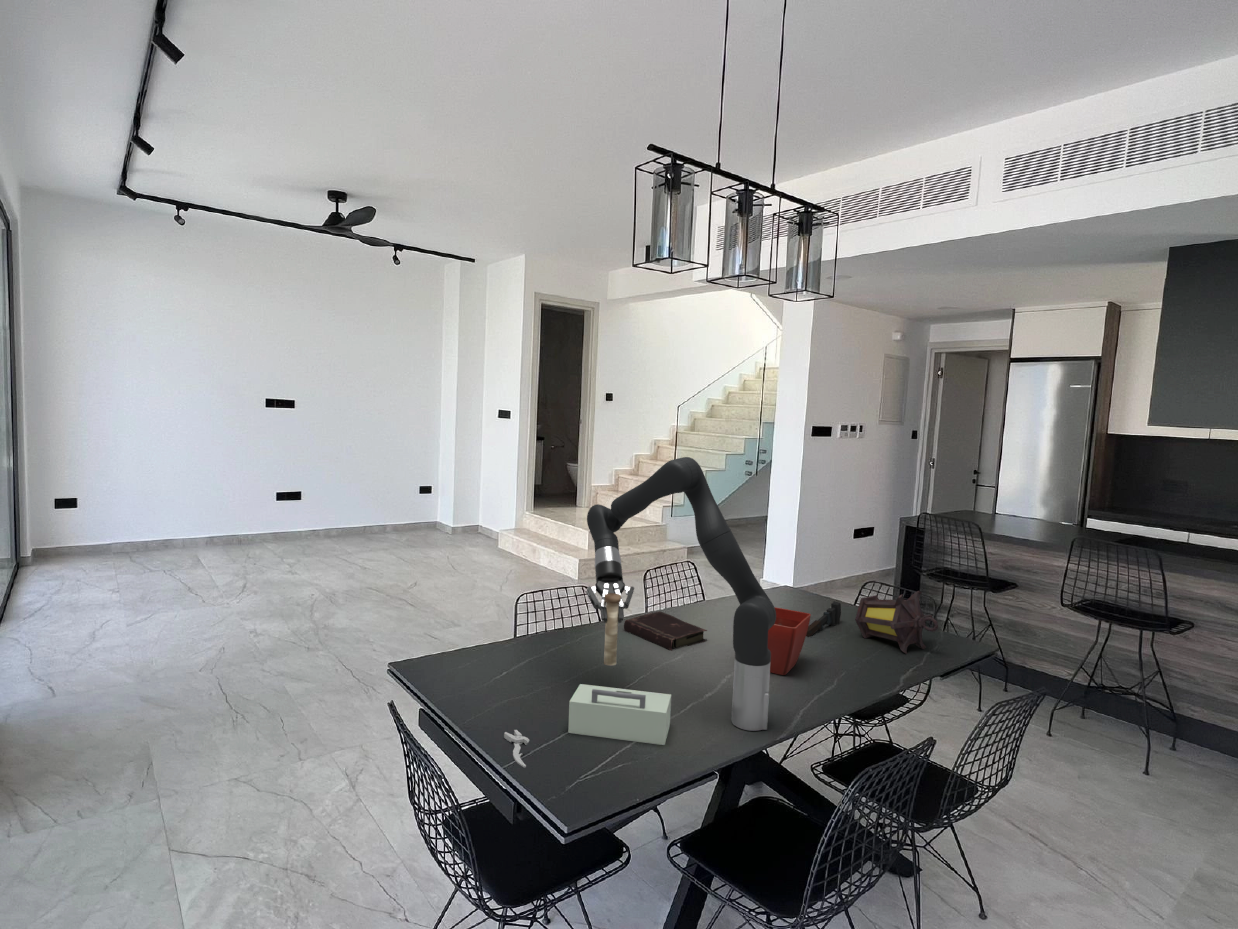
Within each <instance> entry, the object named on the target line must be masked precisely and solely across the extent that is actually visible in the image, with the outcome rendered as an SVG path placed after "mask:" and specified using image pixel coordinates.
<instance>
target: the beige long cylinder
mask: <svg viewBox="0 0 1238 929" xmlns="http://www.w3.org/2000/svg"><path fill="white" fill-rule="evenodd" d="M621 597H622V594H621V595H619V594H616V593H608V594H605V600H604V601H605V602H606V608H607V623H604V624H605V625H604V626H605V628H604V650H603V651H604V654H603V665H605V666H609V667H610V666H611V667H612V666H616V665H617V655H618V654H617V653H618V652H617V651H618V650H617V649H618V633H619V632H618V631H619V630H618V629H619V627H618V626H619V623H618V608H619V602H621Z"/></svg>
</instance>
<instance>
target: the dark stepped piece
mask: <svg viewBox="0 0 1238 929" xmlns="http://www.w3.org/2000/svg"><path fill="white" fill-rule="evenodd" d="M830 606H831V607H827V609H826V611H824V612H822V613H823V614H822V616H820V618H817V619H816V620H814V621H813V622H812V623H811V624H809V626H808V630H807V634H806V637H807V638H810V637H811V636H813V635H814V634H815V633H817V631H822V630H823V629H824V628H825V626H826V625H827V626H832V627H835V626H836V625H837V626H839V625H840V622H841V615H842V610H841V608H842V604H841V602H839V601H833V602H832V603H830ZM806 637H805V638H806Z"/></svg>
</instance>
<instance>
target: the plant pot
mask: <svg viewBox="0 0 1238 929" xmlns="http://www.w3.org/2000/svg"><path fill="white" fill-rule="evenodd" d="M774 607H775V610H776V621H775V623H774V625H773V626H772V627H771V628H770V629H769V630H768V649H769V650H770V652H771V662H770V674H771V673H773V674H775V675H780V676H785V675H788V673H789V672H790V671H791V670H792V669H793V668H794V667H795V666H796V664H797V662H798V660H799V657H800V655H801V652H802V649H803V647H804V644H805V641H806V634H807V630H808V626H809V625H810V621H811V616H812V615H811V613H808V612H805V611H804V612H803V611H797V610H792V609H787V608H782V607H781V608H780V607H776V606H774Z"/></svg>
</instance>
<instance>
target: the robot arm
mask: <svg viewBox="0 0 1238 929" xmlns="http://www.w3.org/2000/svg"><path fill="white" fill-rule="evenodd" d="M681 493H684V495H685V496H686V497H687V500H688V501H689V503H690V505H691V508H692V510H693V514H694V523H695V535H696V540H697V541H698V544H699V547H700V548H701V550H702V553H703V554H704V556H705V558H706V559H707V561H708V563H709V564H710V566H711V567H712V568H713V569H714V570H715V571H716V572H717V573H718V574H719V576H721V578H723V579H724V580H725V582H727V583H728V584H729V586H730V587H731V590H732V591H733V593H734V594H735V596H736V598H737V601H738V604H739V606H737V608H736V609H735V612H734V616H733V625H732V646H733V647H732V648H733V651H734V668H733V684H732V687H733V688H732V702H731V703H732V704H731V720H730V721H731V723H732V724H733V726H734V727H737V728H738V729H741V730H745V731H753V732H756V731H761V730H762V731H763V730H765V731H767V730H768V721H769V719H768V718H769V701H770V677H771V672H770V662H771V652H770V650H769V649H768V630H769V629H770V628H771V627H772V626H773V625H774V623H775V621H776V610H775V607H776V606H775V605H774V604H773V602H772V600H771V599H770V597H769V596H768V594H767V593H766V592H765V590H764V588H763V587H762V586H761V584H760V583H759V581H758V579H757V578H756V576H755V574H754V572H753V570H752V569H751V566H750V565H749V563H748V560H747V559H746V557H745V555H744V553H743V551H742V549H741V546H740V545H739V543H738V541H737V539H736V537H735V535H734V533H733V532H732V530H731V528H730V526H729V525H728V523H727V521H726V519H725V517H724V516H723V513H722V512H721V509H720V507H719V505H718V504H717V502H716V500H715V498H714V495H713V494H712V491H711V489H710V486H709V484H708V481H707V478H706V476H705V473H704V472H703V469H702V468H701V465H700V464H699V463H698V461H696V459H694V458H692V457H688V456H684V457H678V458H674V459H670V460H668V461H667V462H665V463H664V464H663V465H662V466H661V467H659V468H657V470H656V471H655V472H654V473H653V474H651V476H649V477H648V478H647V479H645V480H644V481H643V482H642V483H641V484H638V485H636V486H635V487H633V488H631V489H630V490H627V491H626V492H624V493H623V494H621V495H619V496H617V497H616V498H615V499H613V500H612V501H611V504H610V507H607V506H604V505H602V504H593V505H592V506H591V507H590V508H589V509H588V511H587V514H586V523H587V527H588V530H589V533H590V535H591V538H592V540H593V544H594V545H593V546H594V571H595V582H596V583H595V584H594V586H590V585H589V586H587V587H586V592H585V593H586V596H587V598H588V599H589V601H590V603H591V606H592V607H593V609H595V610H600V619H601V621H602V622H603V623H604V624H605V623H607V608H606V602H605V601H604V600H605V594H608V593H616V594H619V595H621V602H619V608H618V624H619V623H622V621H623V620H624V617H625V614H624V611H625V610H624V609H628V608H629V606H630V604H631V600H632V597H633V594H634V592H635V587H634V586H633V585H632V586H627V585H626V584H625V582H624V578H623V569H622V568H623V567H622V558H621V555H620V545H619V539H618V536H617V535H616V534H615V533H616V532H618V531H619V530H621V528H622V527H623V525H624V524H626V522H627V521H628V520H629V519H630V518H632V517H634V516H636V515H638V514H640V513H642V512H643V511H644V510H646V509H647V508H648V507H649V506H650V505H651V504H652V503H655V501H657V500H659V499H660V500H661V499H662V498H664V497H667V496H671V495H674V494H681ZM624 591H625V595H626V598H625V599H626V600H625V601H623V599H622V594H623V592H624ZM596 592H597V593H598V595H599V596H600V597H601V600H600V601H601V602H600V601H599V600H598V597H597V596H596Z"/></svg>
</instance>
